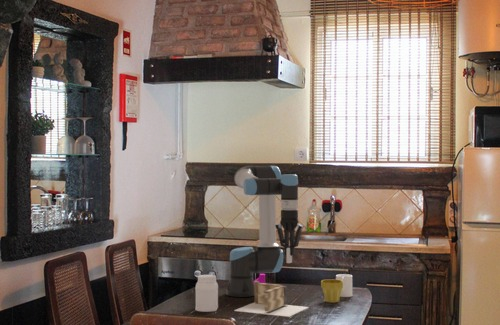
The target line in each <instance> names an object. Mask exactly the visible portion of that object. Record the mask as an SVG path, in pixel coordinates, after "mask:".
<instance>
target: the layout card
mask: <svg viewBox="0 0 500 325" xmlns="http://www.w3.org/2000/svg"><path fill="white" fill-rule="evenodd" d="M309 308H310V307H309V306H303V305H290V304H286V305H283V306H281V307H278V308H275V309H273V310H270V311H265V304H259V303H255V301H254V302H252V303H249V304H247V305H244V306H242V307H239V308H237V309H234V312H238V313H239V312H241V313H249V314H257V315H266V316H267V315H268V316H277V317H285V318H290V317H292V316H295V315H296V314H298V313H301V312H302V311H305V310H308V309H309Z"/></svg>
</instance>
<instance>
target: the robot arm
mask: <svg viewBox="0 0 500 325" xmlns="http://www.w3.org/2000/svg"><path fill="white" fill-rule="evenodd" d="M233 180H234V183H235V185H236V186H237V187H238V188H240V189H243V194H244V195H245V196H258V216H259V217H258V219H259V220H258V221H259V224H258V225H259V226H258V227H259V232H258V233H259V243H258V244H257V245H256V249H254V248H253V247H252V246H244V247H243V246H242V247H237V248H234V249H232V250H231V251H230V252H229V281H228V284H227V288H226V294H225V295H226V296H229V297H232V298H233V297H237V298H248V297H255V284H254V281H255V280H254V274H265V273H270V274H272V273H279V272H280V271H281V269H282V267H283V265H284V264H283V263H284V255H285V256H286V264H291V263H293V256H295V255H294V254H295V248H297V247H299V244H300V243H299V242H300V239H301V235H302V232H303V229H304V227H305V226H304V225H301V223H299V210H298V209H299V179H298V175H297V174H282V173H281V170H280V168H279V167H278V166H277V165H269V164H268V165H246V166H243V167H241V168H239V169H238V170H237V171H236V172H235V173H234V176H233ZM277 196H280V209H281V210H280V221H279V223H278V224H277ZM295 231H296V233H295ZM277 235H278V239H279V244H278V242H277ZM280 247H283V248H284V251H283V249H281V248H280Z"/></svg>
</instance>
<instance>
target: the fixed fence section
mask: <svg viewBox="0 0 500 325" xmlns="http://www.w3.org/2000/svg"><path fill="white" fill-rule="evenodd" d="M254 281H255V280H254ZM279 286H283V284H276V283H275V284H274V283H266V282H265V283H259V281H255V296H254V302H255V303H259V304H265V293H264V291H266V290H269V289H273V288H276V287H279Z"/></svg>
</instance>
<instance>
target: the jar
mask: <svg viewBox="0 0 500 325" xmlns="http://www.w3.org/2000/svg"><path fill="white" fill-rule="evenodd" d="M194 309H195V311H196V312H203V313H205V312H207V313H208V312H211V313H212V312H216V311H217V310H218V309H219V284H218V282H217V275H215V274H201V275H197V282H196V283H195V308H194Z"/></svg>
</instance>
